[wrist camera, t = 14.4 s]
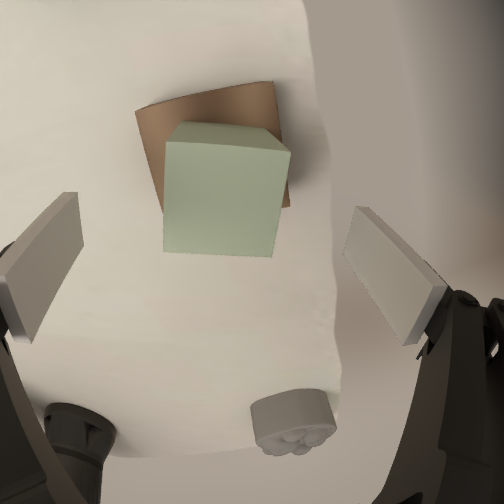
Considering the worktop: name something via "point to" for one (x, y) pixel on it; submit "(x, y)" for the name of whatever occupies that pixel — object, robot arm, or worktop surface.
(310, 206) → the worktop surface
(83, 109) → the worktop surface
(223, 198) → the sage block
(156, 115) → the walnut block
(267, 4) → the worktop surface
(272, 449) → the lumpy-topped squat cylinder
